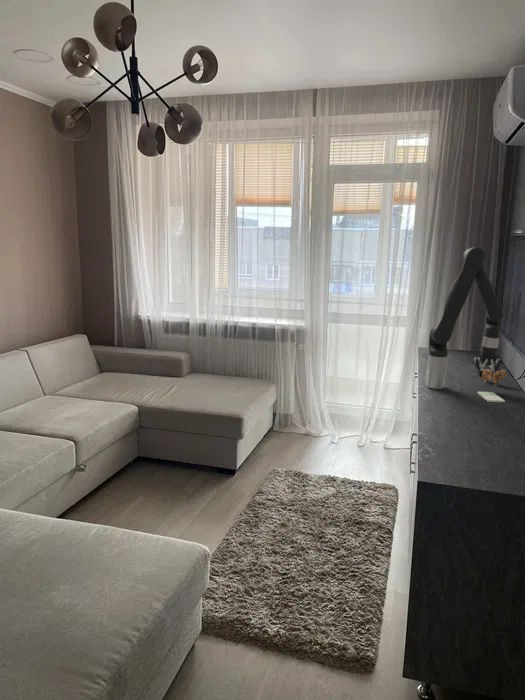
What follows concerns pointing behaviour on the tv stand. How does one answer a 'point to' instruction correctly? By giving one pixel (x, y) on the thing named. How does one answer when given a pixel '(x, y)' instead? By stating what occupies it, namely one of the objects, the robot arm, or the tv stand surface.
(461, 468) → the tv stand surface
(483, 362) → the robot arm
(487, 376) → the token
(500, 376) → the lion figurine
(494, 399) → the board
